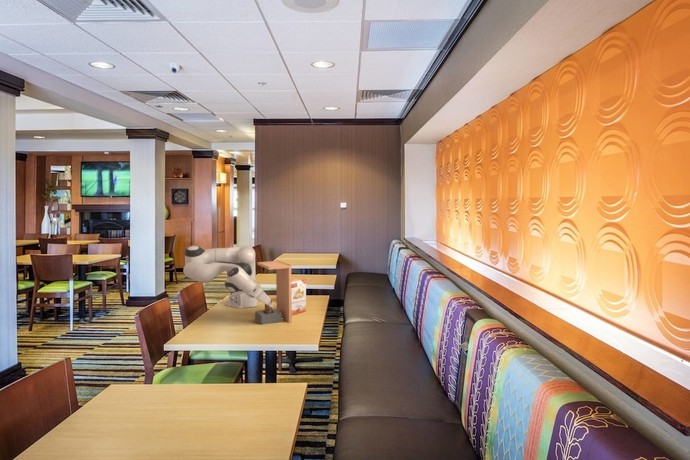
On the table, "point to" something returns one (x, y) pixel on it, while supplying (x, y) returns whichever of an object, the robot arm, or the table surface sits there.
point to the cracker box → (298, 295)
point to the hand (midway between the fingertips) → (269, 304)
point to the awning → (282, 287)
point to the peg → (268, 308)
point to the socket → (268, 316)
